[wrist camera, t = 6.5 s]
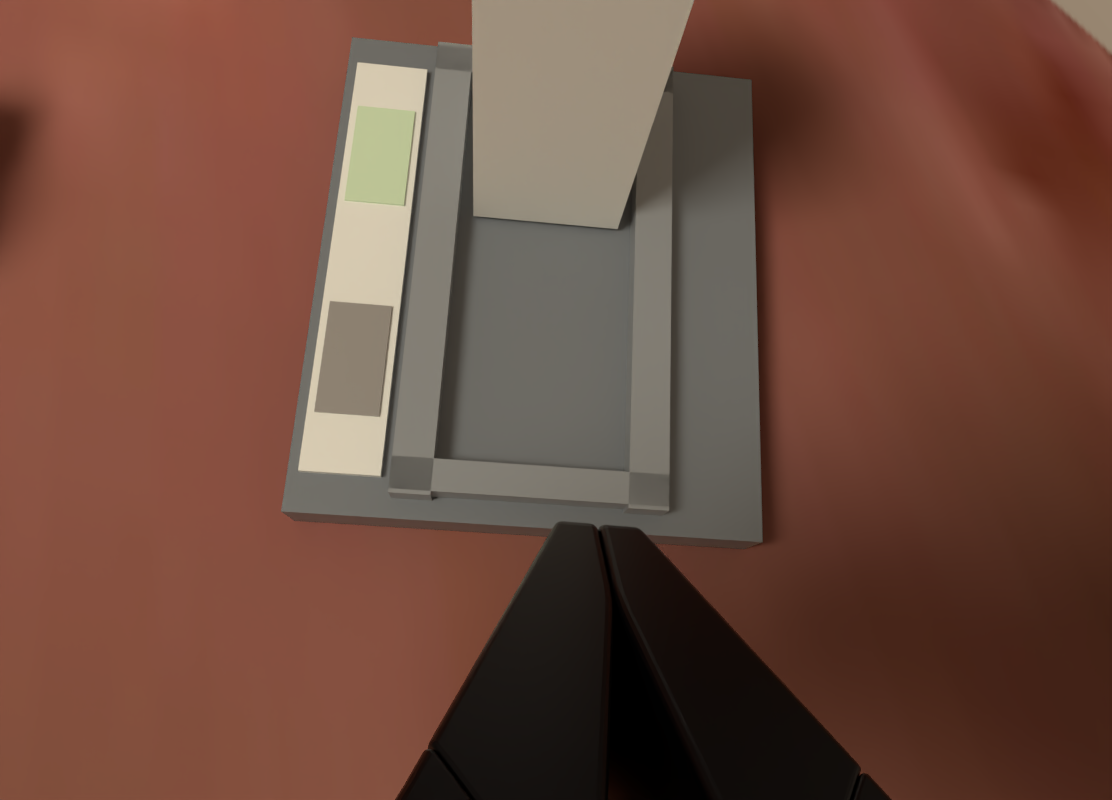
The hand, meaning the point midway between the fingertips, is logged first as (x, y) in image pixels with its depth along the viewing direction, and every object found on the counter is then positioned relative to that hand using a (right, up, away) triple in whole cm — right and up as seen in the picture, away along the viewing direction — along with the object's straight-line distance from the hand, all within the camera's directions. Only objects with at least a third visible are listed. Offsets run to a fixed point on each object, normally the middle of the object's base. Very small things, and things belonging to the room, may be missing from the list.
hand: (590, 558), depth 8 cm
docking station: (-1, +5, +16) cm, 16 cm away
